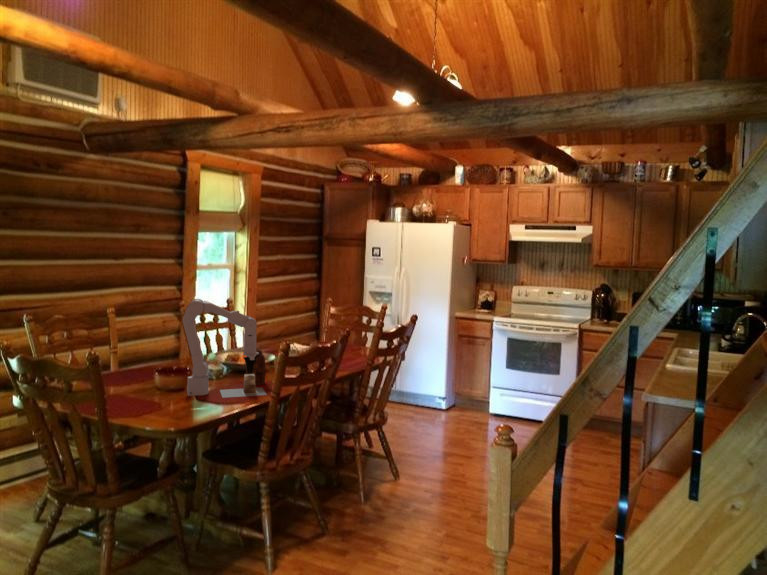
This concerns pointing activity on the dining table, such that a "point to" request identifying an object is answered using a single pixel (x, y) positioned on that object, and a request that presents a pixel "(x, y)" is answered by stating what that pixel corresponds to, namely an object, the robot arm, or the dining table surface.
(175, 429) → the dining table surface
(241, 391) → the mat
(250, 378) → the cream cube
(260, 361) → the wooden figurine
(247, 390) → the walnut base block
